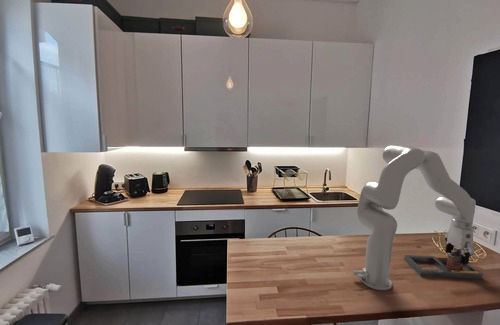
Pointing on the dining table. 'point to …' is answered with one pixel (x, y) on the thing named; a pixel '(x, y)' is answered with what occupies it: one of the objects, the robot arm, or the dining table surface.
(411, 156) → the robot arm
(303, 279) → the dining table surface
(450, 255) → the reddish brown container
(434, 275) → the grey divided frame
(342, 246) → the dining table surface
